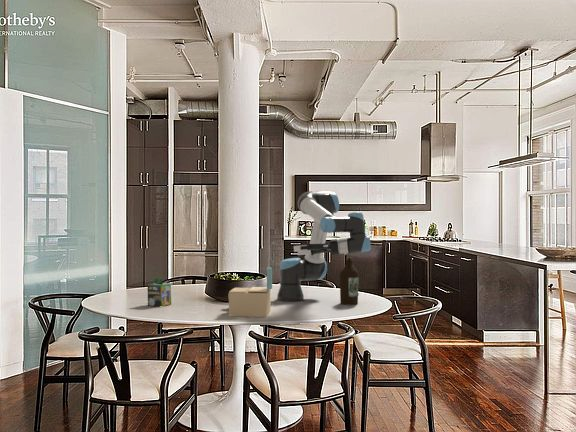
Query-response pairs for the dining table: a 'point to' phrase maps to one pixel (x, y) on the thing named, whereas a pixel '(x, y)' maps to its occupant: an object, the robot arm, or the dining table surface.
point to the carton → (248, 303)
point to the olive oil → (349, 284)
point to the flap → (269, 283)
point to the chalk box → (159, 293)
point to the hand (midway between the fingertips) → (295, 250)
